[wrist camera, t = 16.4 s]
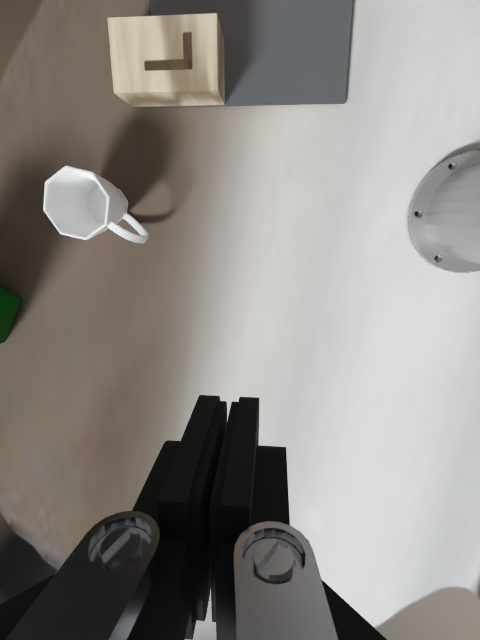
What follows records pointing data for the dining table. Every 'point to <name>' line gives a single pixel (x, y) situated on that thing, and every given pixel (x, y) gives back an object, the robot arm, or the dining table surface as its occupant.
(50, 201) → the cup
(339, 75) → the rubber mat
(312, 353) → the dining table surface
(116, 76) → the beech block
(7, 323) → the milk carton
